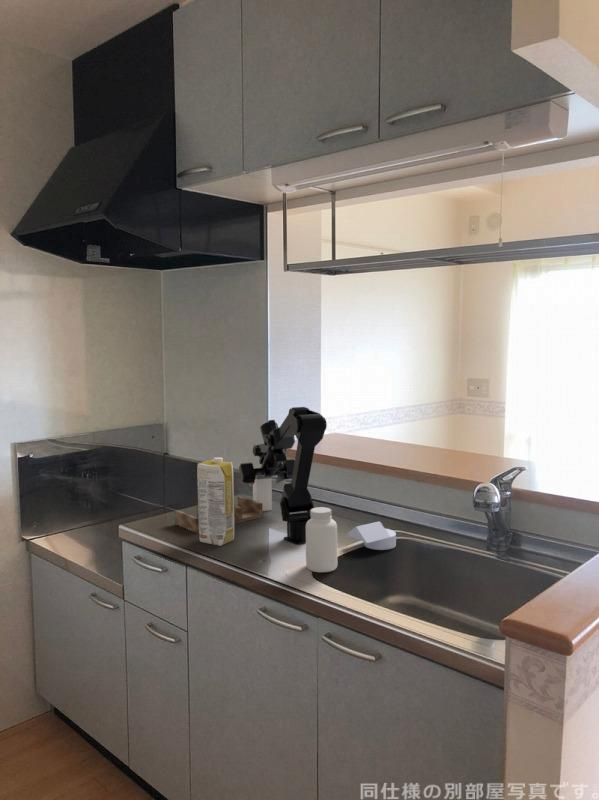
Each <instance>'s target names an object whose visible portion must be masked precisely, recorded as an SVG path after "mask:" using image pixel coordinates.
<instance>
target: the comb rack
mask: <svg viewBox="0 0 599 800" xmlns="http://www.w3.org/2000/svg"><path fill="white" fill-rule="evenodd" d="M263 516H264V515H263V512H262V503H260V502H257V501H254V500H253V499H250V498H247V497H244V496H241V495H239V496H237V505H235V504H234V525H236V524H240V523H244V522H247V521H252V520H255V519H259V518H263ZM174 524H176V525H175V526H177V525H179V526H178V527H180V526H181V527H180V528H182V527H183V529H184V528H186V529H185V530H187V529H188V530H187V531H189V530H190V531H189V532H191V531H193V532H192V533H194V532H195V533H194V534H196V533H197V534H199V518H198V505H196V516H194V515H191V514H189V513H186V512H184V511H181V510H179V509H176V510H174Z"/></svg>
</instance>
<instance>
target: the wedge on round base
mask: <svg viewBox="0 0 599 800" xmlns="http://www.w3.org/2000/svg"><path fill="white" fill-rule="evenodd" d="M345 535H346V536H348V537H351V538H353V539H356V540H358V541H360V542H364V544H363V546H364V545H365V546H364V547H365V548H367V549H371V550H377V551H384V550H385V551H386V550H391V549H394V548H395V547H396V545H397V533H396V531H394V530H392V529H390V528H385V526H383V523H382V522H381V521H375V522H371V523H366V524H362V525H358V526H357V525H356V526H355V527H353V528H352V529H351V530H349V532H347V533H345Z"/></svg>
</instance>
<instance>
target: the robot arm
mask: <svg viewBox="0 0 599 800" xmlns="http://www.w3.org/2000/svg"><path fill="white" fill-rule="evenodd" d="M259 429H260V432H261V436H262V441H263V443H260V444H254V445H253V447H252V454H253V457H259V460H258V462H259V465H260V467H258V468H257V467H256V468H254V467H255V466H254V464H253V462H242V463H240V464H239V467H238V470H239V474H240V477H241V478H240V479H241V482H242V483H244V484H245V483H246V484H248V485H249V487H253V484H254V483H255V479H256V477H255V476H262V475H264V476H265V477H266V476H272V477H273V476H275V477H276V478H275V479H276V480H275V484H276V485H278V484H280V483H283V482H286V481H288V480H290V483H285V484H284V485H283V490H282V494H281V498H280V502H279V506H280V512H281V519H282V520H281V521H283V522H286V533H287V534H286V535H287V536H283V540H285V541H288V542H290V543H293V544H295V545H301V544H303V543H306V523H307V521H309V520H310V519H311V516H310V510H311V509H313V508H315V505H314V503H313V499H312V495H311V493H310V492H309V491H310V490H309V489H308V486H309V482H310V475H311V471H312V470H311V469H312V465H313V459H314V454H315V449H316V447H317V445H318V444H319V443H320V442H322V441H323V439H324V435H325V431H326V430H327V420H326V418H325V417H324V416H323V415H322V414H321V413H320V412H316V411H314V410H312V409H311V410H310V409H309V408H308V407H306V406H296V407H295V406H294V407H292V408H291V407H290V408H289V410H288V414H287V416H286V417H285V418H284V420H283V422H282V423H281V424H280V426H278V423H277V422H276V421H275V419H269V420H268V421H267V422H265V423H263V424H262V425H261V426H260V427H259ZM295 437H296V440H297V446H296V451H295V457H294V459H293V458H287V455H286V454H287V450H289V449H290V450H291V449H292V448H293V446H294V445H295V444H296V443H295V442H296V440H295Z"/></svg>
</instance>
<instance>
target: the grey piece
mask: <svg viewBox="0 0 599 800" xmlns="http://www.w3.org/2000/svg"><path fill="white" fill-rule="evenodd" d="M255 477H256V479H255V483H254V484H253V485H252V500H254V501H257V502H260V503H262V513H263V512H271V511H273V492H272V490H273V487H272V486H273V485H272V483H273V482H272V480H273V479H272V477H273V476H266V477H265V476H264V475H262V476H255ZM270 510H271V511H270Z"/></svg>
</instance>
